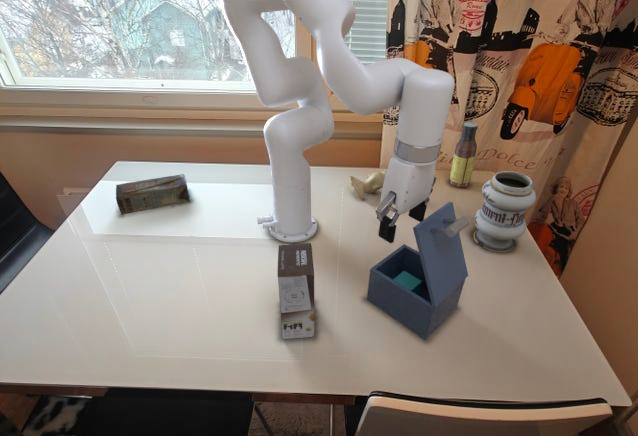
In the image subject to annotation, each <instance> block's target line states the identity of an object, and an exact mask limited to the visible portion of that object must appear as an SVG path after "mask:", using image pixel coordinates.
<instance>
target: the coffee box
mask: <svg viewBox="0 0 638 436" xmlns="http://www.w3.org/2000/svg"><path fill="white" fill-rule="evenodd" d="M312 246H313V245H312V242H293V243H289V244H278V249H277V283H278V296H279V309H280V322H281V336H282V339H283V340H287V339H288V340H289V339H290V340H291V339H303V338H313V337H315V328H316V327H315V267H314V258H313V247H312Z"/></svg>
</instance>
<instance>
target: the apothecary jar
mask: <svg viewBox="0 0 638 436" xmlns="http://www.w3.org/2000/svg"><path fill="white" fill-rule="evenodd" d="M533 183H534V182H533V180H532V178H531V177H529V176H527V175H526V174H523V173H521V172H517V171H512V170H501V171H497V172H496V173H494V175H493V177H492V178H491V179H488V181H487V180H486V182H485V183H484V184H483V186H482V188H481V194H482V197H483V198H484V199H483V204H482V205H481V207H480V208H479V209H477V211H476V212H475V213H474V215H473V223H474V225H475V227H476V230H475V231H474V232H473V235H472V236H473V240H474V241H475V243H476V244H477V245H480V246H482V247H483V249H485V250H486V251H487V250H488V251H491V252H495V253H507V252H510V251H511V250H513V249H514V247H515V239H518V238H520V237H522V236H523V235H524V234H525V232H526V231H527V223H526V220H525V215H526V212H527V210H528V209H530V208H532V207H533V206H534V204H535V203H536V201H537V193H536V191H535V189H533Z"/></svg>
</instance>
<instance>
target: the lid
mask: <svg viewBox="0 0 638 436" xmlns="http://www.w3.org/2000/svg"><path fill="white" fill-rule="evenodd" d="M469 225H470V219H469V217H468V216H465V215H462V216H461V215H460V217H459V218H457V216H456V211H455V206H454V202H453V201H448V202H447V203H445V204H444V205H442V206H441V207H440V208H438V209H437V210H436V211H434V212H432V213H431V214H430V215H429V216H427V217H426V218H424V220H423V221H422V222H418V223H417V224H415V226H413V227H412V230H413V234H414V238H415V242H416V247H417V251H418V252H419V255H420V259H421V263H422V267H423V271H424V275H425V279H426V283H427V287H428V291H429V295H430V299H431V303H432V306H433V307H437V306H438V305H439V304H440V303H441V302H442V301H443V300H444V299H445V298H446V297H447V296H448V295H449V294H450V293H451V292H452V291H453V290H454V289H455V288H456V287H457V286H458V285H459V284H460V283H461V282H462V281H463V280H464V279H465V278H466V279H467V278H468V277H469V271H468V267H467V262H466V258H465V254H464V248H463V245H462V240H461V239H462V238H461V235H460V233H461V231H463V230H464V229H465V228H467V226H469ZM466 279H465V280H466Z"/></svg>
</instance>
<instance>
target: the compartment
mask: <svg viewBox="0 0 638 436" xmlns="http://www.w3.org/2000/svg"><path fill="white" fill-rule="evenodd" d="M403 271H406V272H407V273H409V274H411V275H413V276H414V277H416V278H418V279H419V280H421V281H422V284H421V289H420V294H419V296H418V295H417V294H415V293H413V292H412V291H410V290H409V289H407V288H405V287H404V286H402V285H400V284H399V283H397V282H396V281H394V280H393V279H394V278H396V277H397V276H398V275H399V274H401V273H402V272H403ZM368 274H369V275H368V284H367V295H366V301H367V302H369V303H371V304H372V305H374V307H377V308H378V309H379V310H381V311H382V312H383V313H385V314H387V315H388V316H389V317H391V318H392V319H394V320H395V321H396V322H398V323H399V324H401V325H403V326H404V327H405V328H407V329H408V330H410V331H411V332H412V333H414V334H416V336H418V337H420V338H422V339H423V340H424V341H427V340H429V338H430V337H431V336H432V335H433V334H434V333H435V332H436V331H437V330H438V329H439V327H441V325H442V324H443V323H445V321H446V320H447V319H448V318H449V317H450V316H451V315H452V314H453V313H454V312H455V311H456V310H458V309H457V308H458V305H459V301H460V299H461V295H462V292H463V289H464V285H465V282H466V279H467V278H465V279H464V280H463V281H462V282H461V283H460V284H459V285H458V286H457V287H456V288H455V289H454V290H453V291H452V292H451V293H450V294H449V295H448V296H447V297H446V298H445V299H444V300H443V301H442V302H441V303H440V304H439V305H438V306H437V307H433V306H432V303H431V299H430V295H429V291H428V287H427V283H426V279H425V275H424V271H423V267H422V263H421V259H420V255H419V251H418V250H416V249H414V248H413V247H411V246H409V245H407V244H405V243H404V244H402V245H401V246H399V247H398V248H397V249H395V250H394V251H392V252H390V254H388V255H387V256H386V257H384V258H382V260H380V261H379V262H377V263H376V264H375V265H374V266H372V267H371V268H369V273H368Z"/></svg>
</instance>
